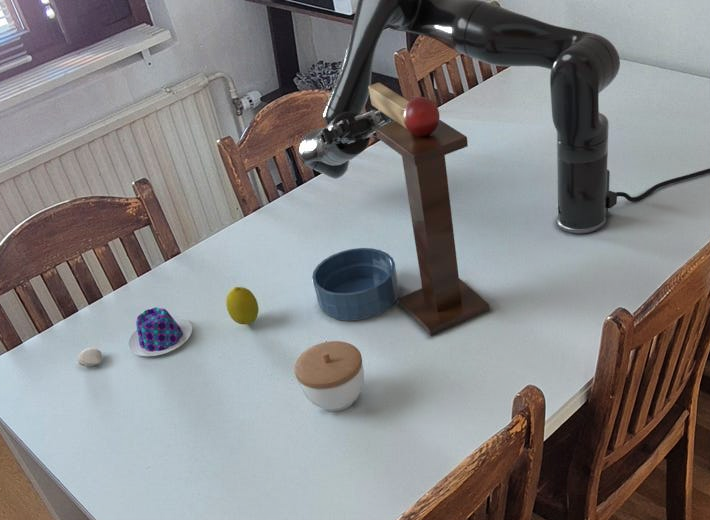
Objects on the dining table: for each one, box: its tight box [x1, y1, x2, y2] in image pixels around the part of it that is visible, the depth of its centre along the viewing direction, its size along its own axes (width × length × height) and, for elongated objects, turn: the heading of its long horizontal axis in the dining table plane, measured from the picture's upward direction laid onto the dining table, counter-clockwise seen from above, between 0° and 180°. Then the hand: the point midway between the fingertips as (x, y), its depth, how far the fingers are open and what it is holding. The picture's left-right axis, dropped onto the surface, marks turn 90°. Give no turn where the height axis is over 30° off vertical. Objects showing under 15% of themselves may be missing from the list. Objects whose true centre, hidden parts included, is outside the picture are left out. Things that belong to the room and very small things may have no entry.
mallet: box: [368, 82, 440, 137], centre depth 125 cm, size 19×5×5 cm, turn 28°
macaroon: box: [76, 347, 103, 367], centre depth 147 cm, size 4×5×2 cm
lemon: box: [225, 286, 259, 326], centre depth 148 cm, size 6×6×8 cm
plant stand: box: [375, 118, 490, 337], centre depth 135 cm, size 13×12×32 cm
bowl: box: [311, 247, 400, 321], centre depth 150 cm, size 15×15×6 cm
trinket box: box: [293, 340, 365, 412], centre depth 129 cm, size 11×11×9 cm
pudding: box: [127, 307, 193, 357], centre depth 149 cm, size 12×12×5 cm
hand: (369, 117), depth 139 cm, fingers open, 8 cm apart
